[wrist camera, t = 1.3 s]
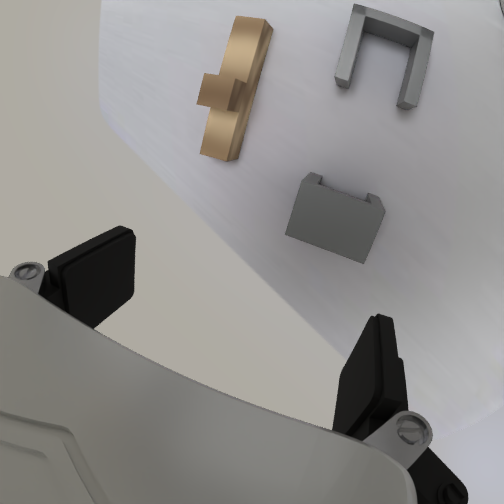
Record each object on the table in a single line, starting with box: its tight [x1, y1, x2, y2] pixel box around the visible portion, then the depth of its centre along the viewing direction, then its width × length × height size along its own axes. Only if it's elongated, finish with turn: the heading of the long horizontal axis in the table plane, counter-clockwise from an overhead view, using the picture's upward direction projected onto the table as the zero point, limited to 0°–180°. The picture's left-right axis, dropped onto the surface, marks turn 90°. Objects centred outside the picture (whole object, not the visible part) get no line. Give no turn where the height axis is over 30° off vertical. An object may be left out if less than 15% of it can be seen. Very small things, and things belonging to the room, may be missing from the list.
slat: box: [197, 16, 273, 161], centre depth 27 cm, size 15×3×6 cm, turn 165°
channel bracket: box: [285, 172, 385, 264], centre depth 28 cm, size 5×7×6 cm
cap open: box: [335, 4, 434, 110], centre depth 22 cm, size 8×7×4 cm
